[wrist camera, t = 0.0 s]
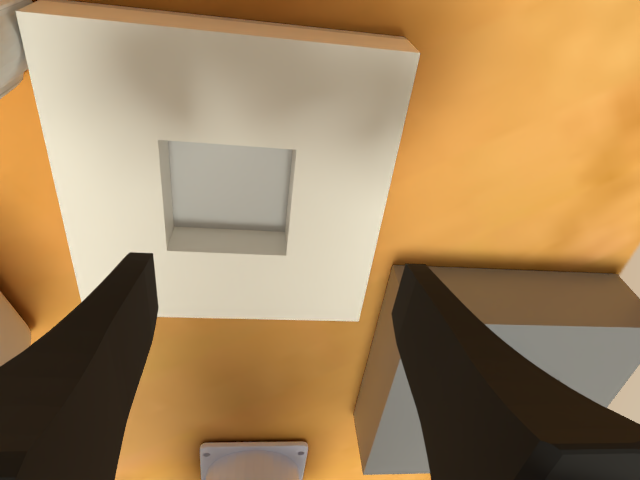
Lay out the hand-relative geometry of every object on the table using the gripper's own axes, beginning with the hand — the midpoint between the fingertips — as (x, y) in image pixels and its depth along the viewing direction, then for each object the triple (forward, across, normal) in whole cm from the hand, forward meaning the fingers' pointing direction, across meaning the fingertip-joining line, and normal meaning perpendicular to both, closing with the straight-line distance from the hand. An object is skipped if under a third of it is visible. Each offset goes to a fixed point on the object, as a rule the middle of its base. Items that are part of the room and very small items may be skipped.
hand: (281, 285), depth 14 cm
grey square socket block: (+10, -14, +14) cm, 22 cm away
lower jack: (+10, +2, +2) cm, 10 cm away
